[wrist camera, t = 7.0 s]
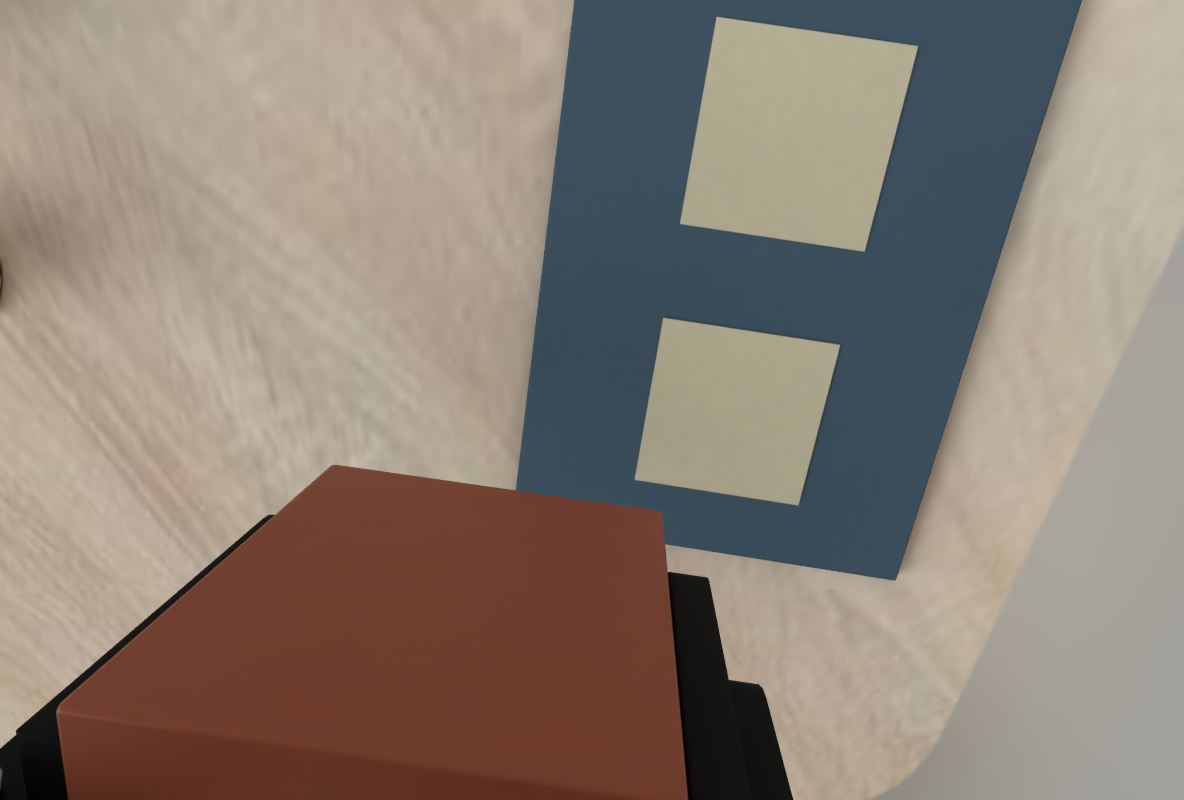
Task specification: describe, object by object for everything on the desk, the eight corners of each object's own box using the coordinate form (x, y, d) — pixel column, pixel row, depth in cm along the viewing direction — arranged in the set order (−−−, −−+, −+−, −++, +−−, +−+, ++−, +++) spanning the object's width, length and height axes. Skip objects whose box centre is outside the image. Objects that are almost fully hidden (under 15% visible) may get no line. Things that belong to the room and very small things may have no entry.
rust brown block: (663, 509, 9) (692, 817, 4) (616, 773, 10) (603, 1211, 6) (331, 462, 9) (37, 717, 5) (328, 729, 10) (99, 1127, 6)
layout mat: (1079, -21, 21) (1093, -28, 21) (890, 573, 28) (897, 582, 27) (587, -91, 21) (585, -101, 21) (514, 513, 28) (511, 521, 27)
